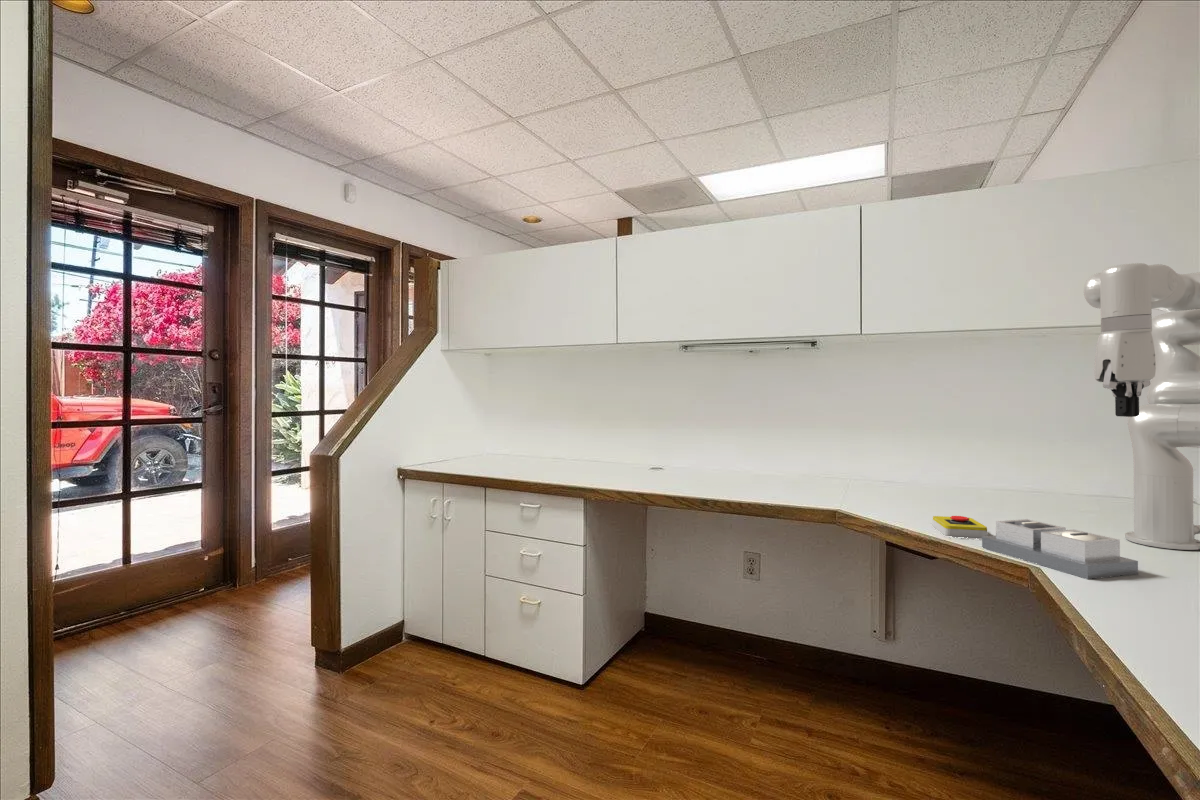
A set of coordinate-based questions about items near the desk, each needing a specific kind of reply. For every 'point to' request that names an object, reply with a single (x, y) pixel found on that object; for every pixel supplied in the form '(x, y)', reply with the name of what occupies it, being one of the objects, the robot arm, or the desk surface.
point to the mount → (1061, 550)
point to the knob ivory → (1079, 536)
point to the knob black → (1030, 524)
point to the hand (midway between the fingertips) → (1127, 416)
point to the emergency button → (959, 527)
